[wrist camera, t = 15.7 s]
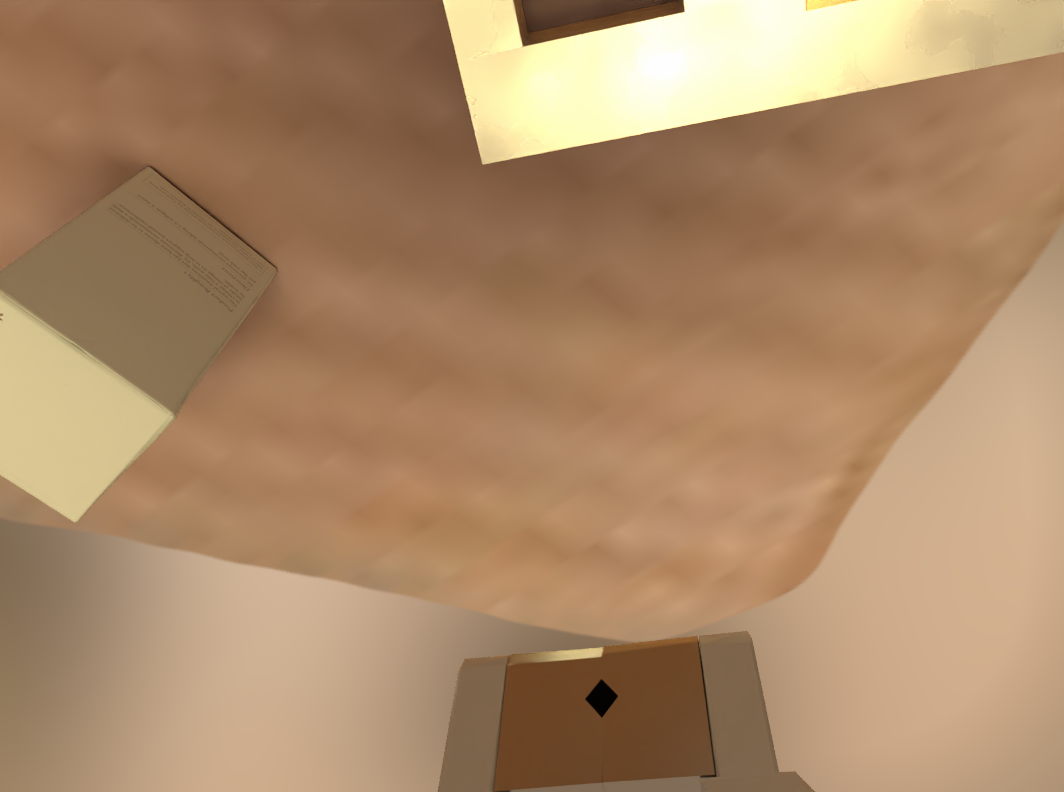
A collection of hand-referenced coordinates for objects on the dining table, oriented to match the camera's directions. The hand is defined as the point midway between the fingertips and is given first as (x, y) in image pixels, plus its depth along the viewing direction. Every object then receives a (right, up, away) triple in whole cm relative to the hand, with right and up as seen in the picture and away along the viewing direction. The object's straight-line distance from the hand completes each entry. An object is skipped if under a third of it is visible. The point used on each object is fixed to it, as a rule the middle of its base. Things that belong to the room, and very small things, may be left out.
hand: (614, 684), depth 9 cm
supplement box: (-18, +9, +33) cm, 38 cm away
